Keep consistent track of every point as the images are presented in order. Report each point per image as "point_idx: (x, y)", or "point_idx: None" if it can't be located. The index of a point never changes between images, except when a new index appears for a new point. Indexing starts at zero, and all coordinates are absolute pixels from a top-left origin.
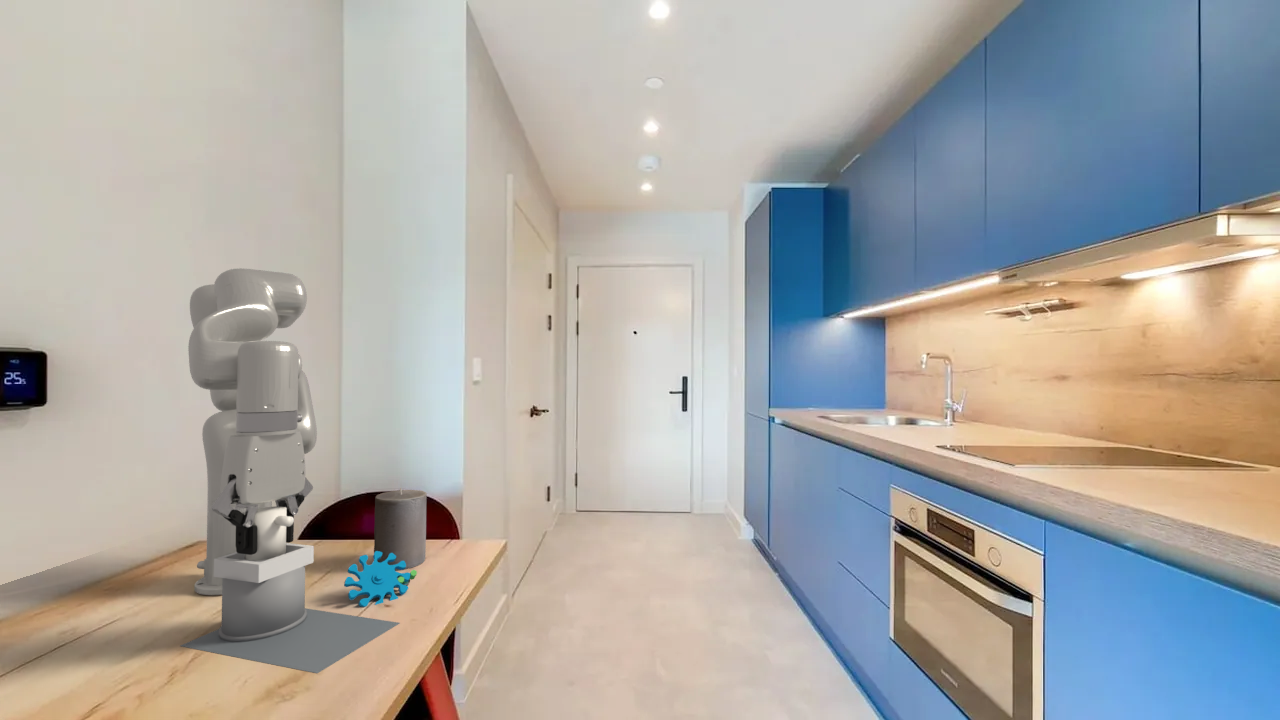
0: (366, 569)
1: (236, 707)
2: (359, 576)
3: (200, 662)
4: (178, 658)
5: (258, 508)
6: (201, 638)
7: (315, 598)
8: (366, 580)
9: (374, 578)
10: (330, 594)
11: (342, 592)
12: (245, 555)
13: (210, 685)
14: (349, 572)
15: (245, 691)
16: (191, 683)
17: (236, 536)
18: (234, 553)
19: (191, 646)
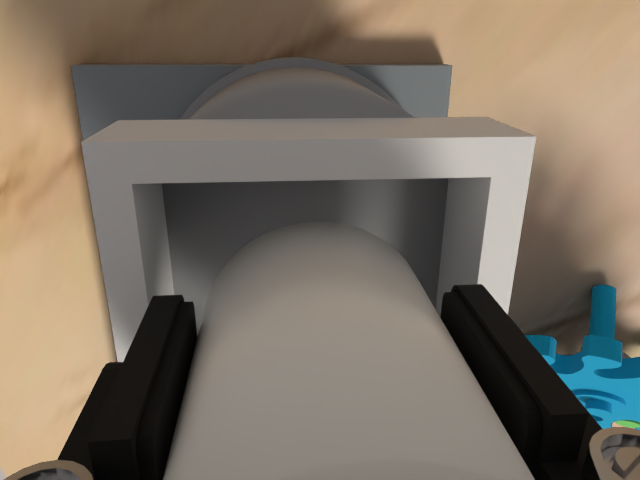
0: (615, 382)
1: (11, 472)
2: (573, 372)
3: (80, 197)
4: (60, 99)
5: (430, 469)
6: (138, 83)
7: (566, 109)
8: (568, 383)
9: (587, 396)
10: (607, 133)
11: (628, 162)
12: (205, 305)
13: (28, 344)
14: (583, 342)
15: (56, 436)
16: (7, 291)
17: (80, 426)
18: (224, 162)
19: (86, 117)
